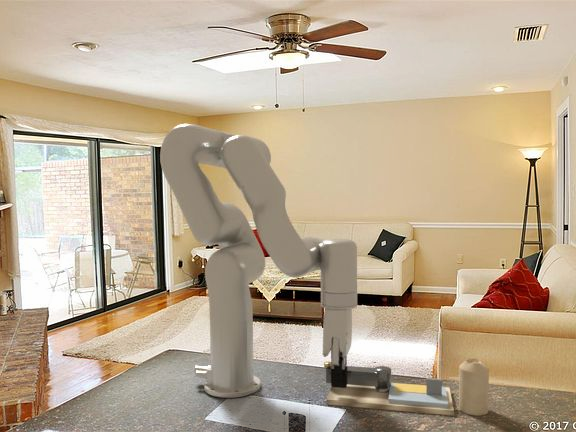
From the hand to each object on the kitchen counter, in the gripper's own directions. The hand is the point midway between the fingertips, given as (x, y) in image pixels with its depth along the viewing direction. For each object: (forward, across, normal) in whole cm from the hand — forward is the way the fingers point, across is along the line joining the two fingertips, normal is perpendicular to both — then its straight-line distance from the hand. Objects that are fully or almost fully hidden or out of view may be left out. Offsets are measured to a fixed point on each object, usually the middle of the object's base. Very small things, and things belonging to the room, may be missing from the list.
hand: (339, 385), depth 107 cm
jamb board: (+3, -4, +10) cm, 11 cm away
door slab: (+2, -3, +16) cm, 16 cm away
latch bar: (+1, -5, +3) cm, 6 cm away
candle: (+3, -1, +27) cm, 27 cm away
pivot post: (+3, -5, +9) cm, 10 cm away
